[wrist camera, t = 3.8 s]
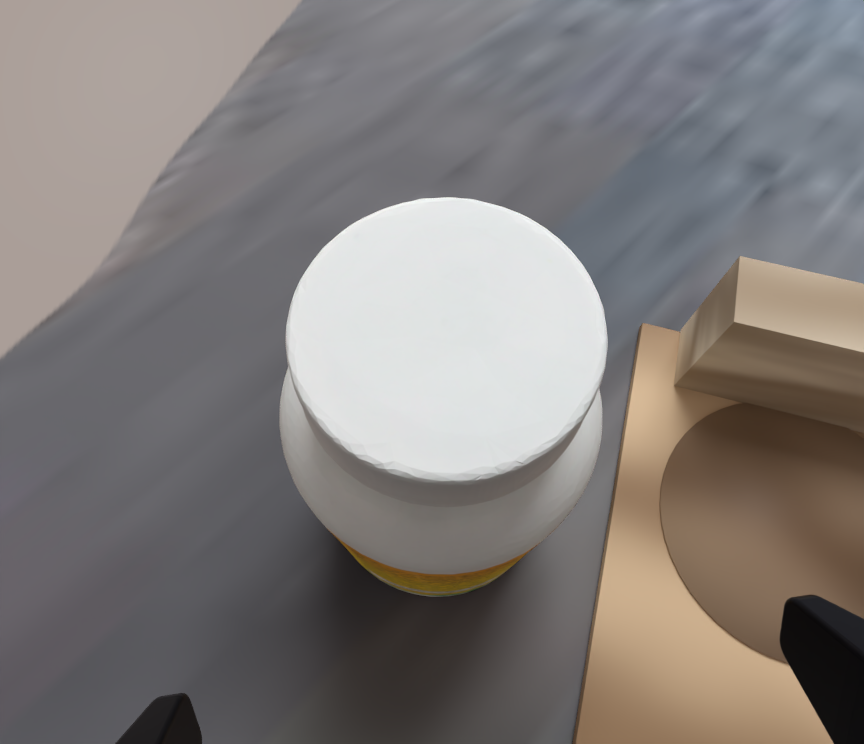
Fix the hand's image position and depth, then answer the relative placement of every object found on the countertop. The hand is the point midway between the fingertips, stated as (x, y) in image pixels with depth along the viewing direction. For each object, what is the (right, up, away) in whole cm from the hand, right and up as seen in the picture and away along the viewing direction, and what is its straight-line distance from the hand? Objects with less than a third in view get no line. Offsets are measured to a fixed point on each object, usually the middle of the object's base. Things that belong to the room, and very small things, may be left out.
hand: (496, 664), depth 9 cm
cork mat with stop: (+11, -2, +12) cm, 16 cm away
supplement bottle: (-1, 0, +13) cm, 13 cm away
